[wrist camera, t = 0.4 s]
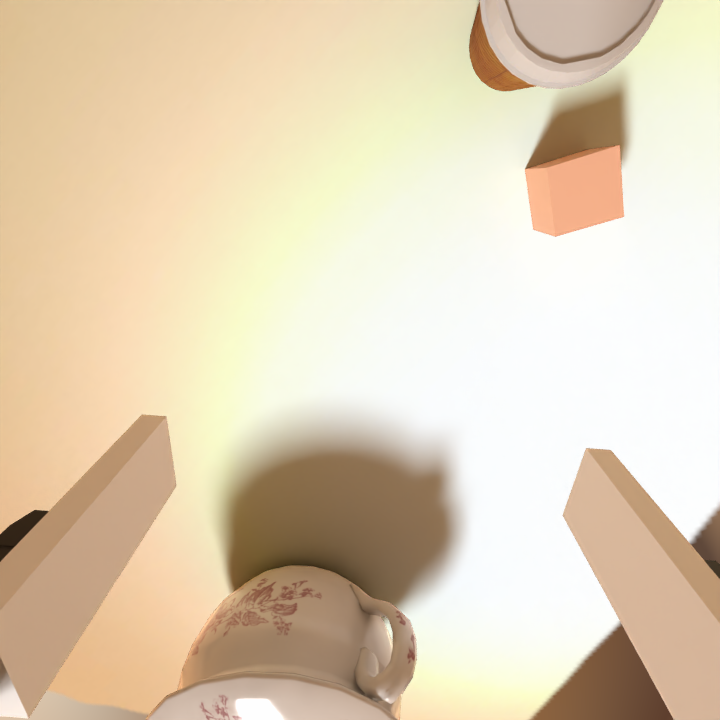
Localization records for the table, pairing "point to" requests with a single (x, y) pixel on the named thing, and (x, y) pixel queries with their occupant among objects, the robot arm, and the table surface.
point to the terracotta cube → (576, 191)
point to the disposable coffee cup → (554, 40)
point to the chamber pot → (296, 654)
